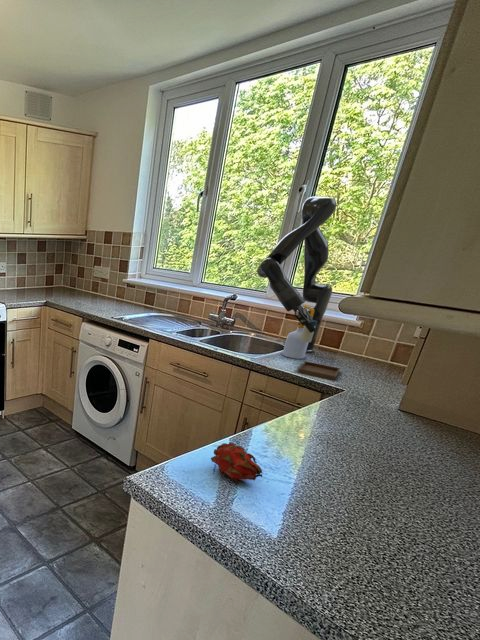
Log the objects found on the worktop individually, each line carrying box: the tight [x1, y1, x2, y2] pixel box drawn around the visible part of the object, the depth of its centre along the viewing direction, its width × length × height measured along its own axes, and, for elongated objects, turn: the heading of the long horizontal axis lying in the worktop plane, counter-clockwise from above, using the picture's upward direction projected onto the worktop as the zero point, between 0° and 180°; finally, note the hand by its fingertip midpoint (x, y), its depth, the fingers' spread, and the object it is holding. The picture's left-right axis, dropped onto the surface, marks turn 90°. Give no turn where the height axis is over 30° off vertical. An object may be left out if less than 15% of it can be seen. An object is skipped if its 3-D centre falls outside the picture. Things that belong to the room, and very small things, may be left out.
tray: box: [297, 360, 341, 381], centre depth 175 cm, size 15×13×2 cm
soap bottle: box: [282, 304, 315, 360], centre depth 192 cm, size 9×9×25 cm
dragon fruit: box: [210, 442, 263, 484], centre depth 96 cm, size 8×8×12 cm
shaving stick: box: [300, 320, 317, 342], centre depth 175 cm, size 4×4×9 cm
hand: (314, 330), depth 174 cm, fingers closed on shaving stick, 4 cm apart
